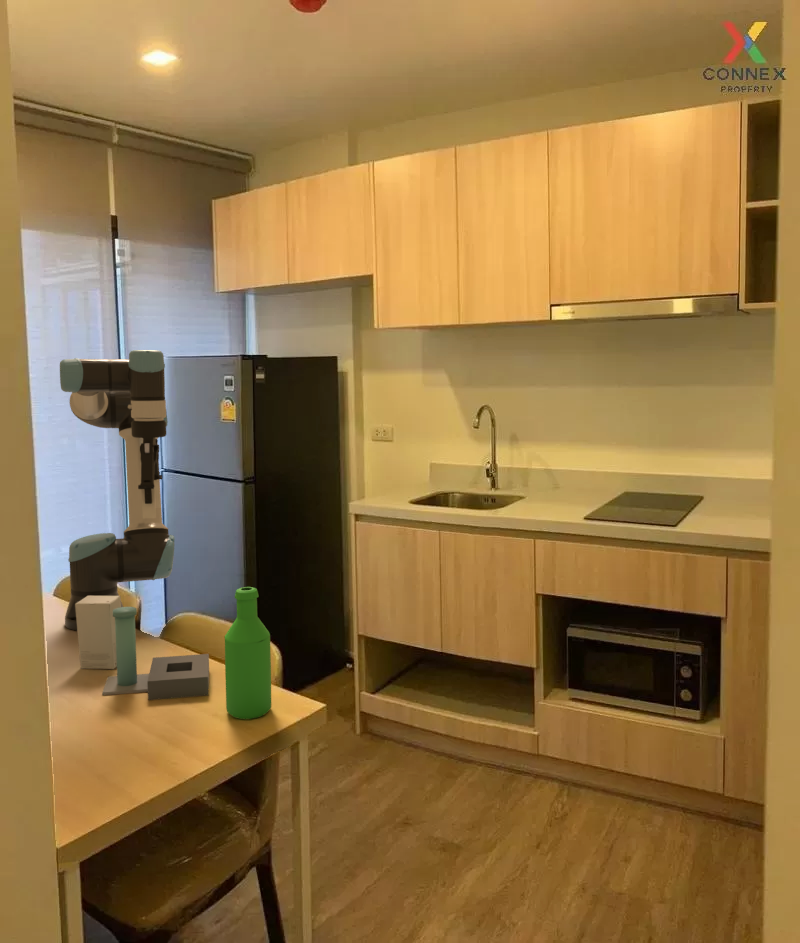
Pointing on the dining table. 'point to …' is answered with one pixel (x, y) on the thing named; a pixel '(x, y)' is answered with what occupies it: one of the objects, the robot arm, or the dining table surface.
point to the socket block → (178, 677)
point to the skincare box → (97, 631)
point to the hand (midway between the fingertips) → (151, 512)
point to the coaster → (114, 688)
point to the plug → (125, 645)
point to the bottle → (247, 660)
